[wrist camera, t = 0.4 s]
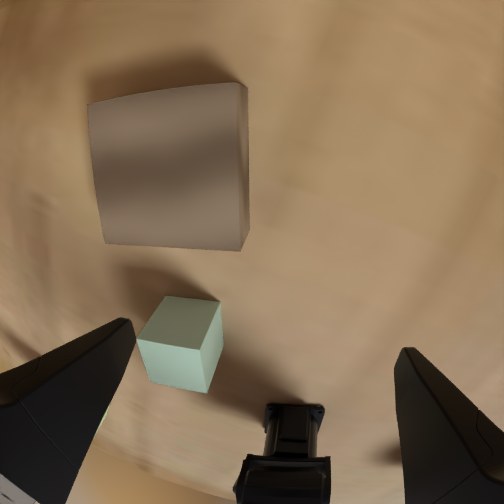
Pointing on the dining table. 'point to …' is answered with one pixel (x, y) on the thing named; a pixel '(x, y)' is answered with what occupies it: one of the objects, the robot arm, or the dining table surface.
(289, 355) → the dining table surface
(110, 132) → the walnut base
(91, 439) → the robot arm
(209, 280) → the dining table surface
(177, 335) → the green block
